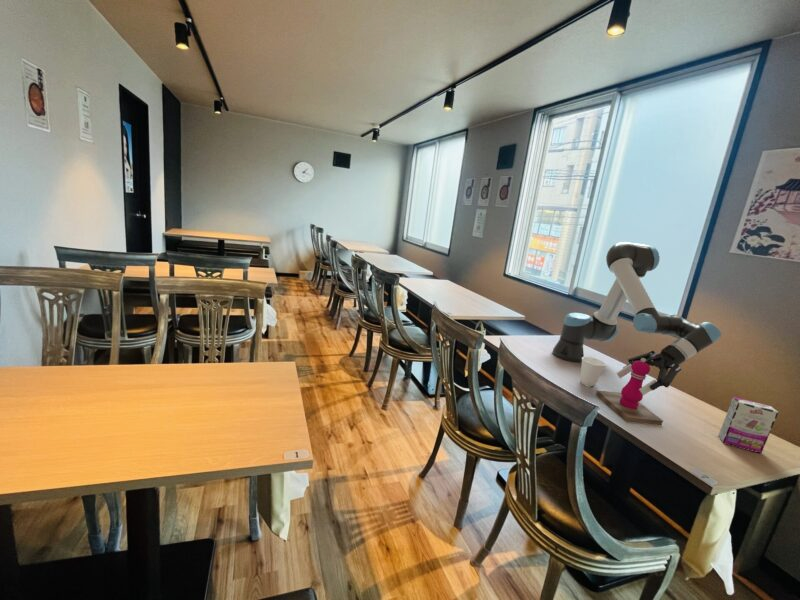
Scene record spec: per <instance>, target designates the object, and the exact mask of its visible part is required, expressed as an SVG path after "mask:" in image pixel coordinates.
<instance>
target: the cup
mask: <svg viewBox="0 0 800 600" xmlns="http://www.w3.org/2000/svg"><path fill="white" fill-rule="evenodd" d="M606 366H607V363H606V362H604V361H603V360H601V359H599V358H595V357H592V356H584V357H582V362H581V366H580V367H581V369H580V377H579V380H580V381H579V382H580V383H581V384H582V385H585V386H586V385H587V386H586V387H590V386H593V387H595V386H596V385H597V383H598V380H599V379H600V377H601V375H602V373H603V372H604V369H605V367H606Z"/></svg>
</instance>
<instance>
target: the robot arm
mask: <svg viewBox="0 0 800 600" xmlns="http://www.w3.org/2000/svg"><path fill="white" fill-rule="evenodd" d="M660 258H661V257H660V253H659V251H658V249H657V248H656V247H654V246H652V245H648V244H643V243H633V242H630V241H629V242H627V241H622V242H618V243H616V244H613V245H612V246H611V247H610V248H609V250H607V253H606V257H605V261H606V265H607V268H608V270H609V271H610V273H613V274H614V276H615V279H614V282H613V284H612V286H611V287H610V290H609V291H608V293H607V295H606V296H605V299H604V300H603V302H602V304H601V306H600V308H599V309H598V310H597V311H594V313H593V314H592V316H591V315H588V314H586V313H582V312H581V313H580V312H569V313H567V314H566V315H565V318H564V320H563V325H562V329H561V332H560V336H559V340H558V341H557V343H556V344H555V345H554V347H553V349H552V354H553V355H554V356H556V357H558V358H560V359H562V360H565V361H569V362H573V363H582V357H585V354H584V344H585V340H587V341H588V340H589V341H598V342H610V341H612V340H614V339H615V338H616V336H617V335H618V333H619V330H618V329H619V326H618V325H619V324H618V320H617V318H618V315H619V314H620V312H621V311H622V309H623V307H624V305H625V304H626V302H628V304H629V306H630V307H631V309H632V312H633V314H634V317H633V320H632V322H633V324H632V326H633V328H634V329H635V331H637V332H640V333H645V334H656V335H666V336H675V337H677V339H676V340H674V341H672V342H671V343H670V344H668V345H667V346H665V347H663V348H662V349H661V351H660V352H659V353H656V352H655V351H654V350H651V351H649V352H646V353H642V354H639V355H638V356H634V357H631V358H628V359H627V361H628V363H627V364H626V365H625V366H623V368H622V369H620V370H618V371H617V372H616V374H617V376H618V378H619V379H621V378H623V377H625V376H626V375H628V374H629V373H630V374H631V371H633V370H632V368H631V366H632V364H633V363H634V362H635V361H641V358H645V359H646V362H645V363H647V364H648V365H649V366H651V367H655V368H658V369H659V371H658V376H657V377H656V378H655V379H653V380H651V381H649V382H648V383H646V384H645V385H644V386H643V385H642V388H640V389H639V390H640V392H641V393H642V395H643V396H645V395H646V394H648V393H650V392H651V391H656V389H658V388H660V387H664V388H666V389H667V388H669V387H670V385H671V383H672V382H673V381H674V379H675V377H676V376H677V375H678V373H679V372H680V371H682V368H681V367H680V365H681V364H683V363H684V362H686V360H688V359H690V358H692V357H693V356H695V355H696V354H698V353H700V352H701V351H702V350H704V349H706V348H707V347H709V346H711V345H713V344H715V342H716V341H718V340H719V339H720V338H721V337H722V332H721V329H719V328H718V326H716V325H715V324H713V323H712V322H709V321H704V322H702V323H699V324H697V323H694V322H692V321H690V320H688V319H687V318H684V317H682V316H681V315H678V314H675V313H668V314H666V315H661V314H659V311H658V310H657V308H656V307H655V305H654V303H653V301H652V300H651V298H650V296H649V294H648V292H647V291H646V288H645V287H644V285H643V283H642V281H641V280H640V279H642V278H644V277H645V275H646V274H647V273H648V272H651V271H653V270H655V269H656V268H657V267H658V265H659V262H660Z"/></svg>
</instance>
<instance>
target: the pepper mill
mask: <svg viewBox="0 0 800 600" xmlns="http://www.w3.org/2000/svg"><path fill="white" fill-rule="evenodd" d="M645 362H646V359H645V358H641V361H635V362H634V363H633V364H632V366H631V368H632V370H633V371H631V372H630V379H629V381H628V382H627V383H626V384H625V385H624V386H623V388H622V389H621V392H620V393H621V395H622V396H623V397H621V398H620V403H621V404H622V405H624V406H626V407H628V408H632V409H637V408H638V405H639V403H638V402H641V401H642V400H643V396H644V395H642V393H641V392H640V390H639V389H640V388H642V387H643V382H644V381H645V380H646V378H647V375H648V374H649V373H650V372H651V367H650V365H648V364H647V363H645Z"/></svg>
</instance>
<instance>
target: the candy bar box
mask: <svg viewBox="0 0 800 600" xmlns="http://www.w3.org/2000/svg"><path fill="white" fill-rule="evenodd" d="M778 416H779V411H778V410H777V409H776V408H774V407H773V406H771V405H767V404H764V403H759V402H755V401H751V400H747V399H744V398H739V397H735V396H733V397H732V399H731V401H730V404H729V406H728V410H727V412H726V415H725V418H724V420H723V423H722V425H721V428H720V430H719V432H718V436H717V437H718V439H719V438H720V439H721V440H720V439H719V440H720V441H721V442H722V444H724V443H726V444H725V445H728V444H730V445H729V446H731V445H734V446H733V447H735V446H737V447H736V448H738V447H741V448H740V449H742V448H745V449H744V450H746V449H749V450H753V451H757V452H760V453H761V454H762V452H763V450H764V448H765V446H766V444H767V442H768V439H769V436H770V433H771V431H772V429H773V427H774V424H775V422H776V419H777V417H778ZM749 450H748V451H749ZM753 451H752V452H753ZM760 453H759V454H760Z"/></svg>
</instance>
